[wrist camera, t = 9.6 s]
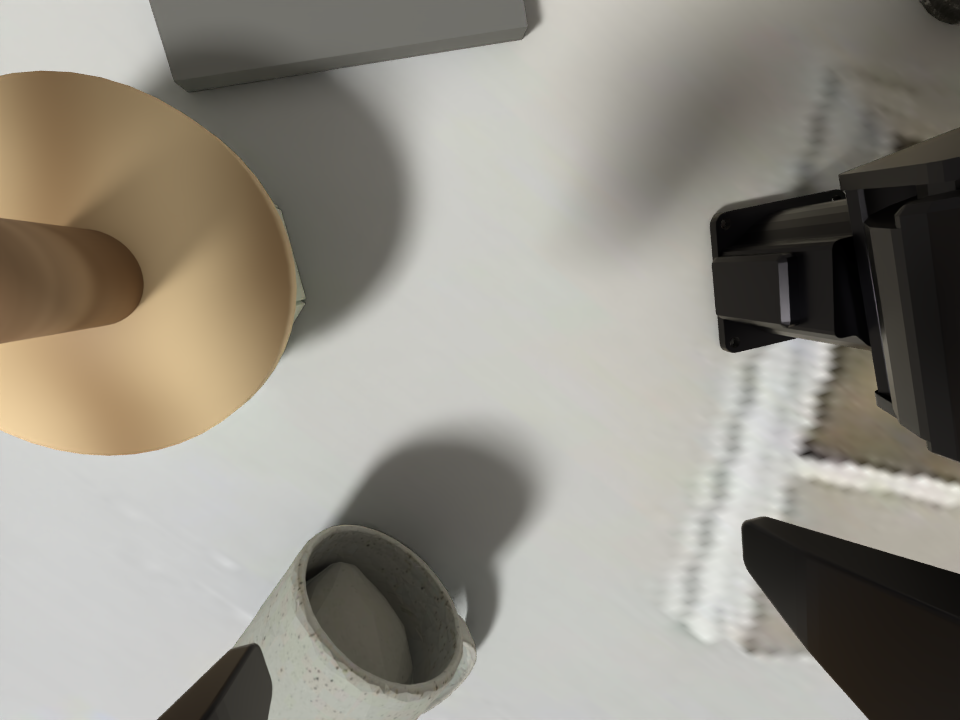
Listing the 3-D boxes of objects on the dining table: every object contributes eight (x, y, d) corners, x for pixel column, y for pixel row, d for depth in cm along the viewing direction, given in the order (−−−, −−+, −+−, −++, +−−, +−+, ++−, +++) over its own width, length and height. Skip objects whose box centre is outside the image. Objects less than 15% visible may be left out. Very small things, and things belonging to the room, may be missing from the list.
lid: (236, 57, 14) (123, -79, 8) (335, 401, 16) (295, 465, 11) (-169, 121, 12) (-592, 12, 7) (0, 478, 15) (-226, 591, 10)
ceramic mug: (227, 634, 21) (130, 831, 14) (323, 497, 21) (274, 627, 13) (416, 714, 24) (419, 917, 16) (506, 594, 23) (552, 749, 16)
